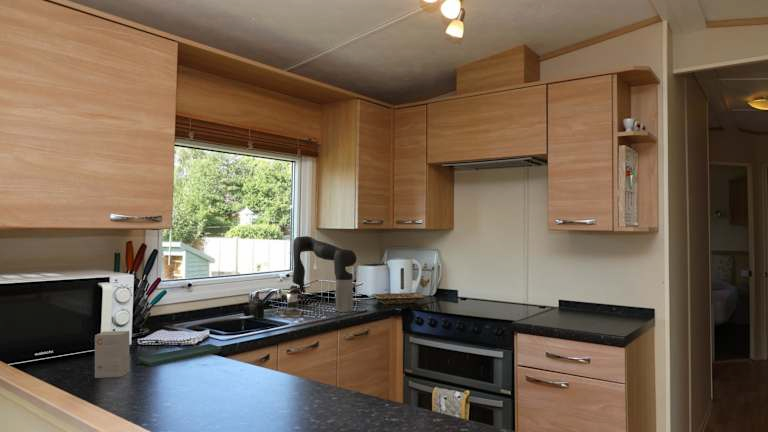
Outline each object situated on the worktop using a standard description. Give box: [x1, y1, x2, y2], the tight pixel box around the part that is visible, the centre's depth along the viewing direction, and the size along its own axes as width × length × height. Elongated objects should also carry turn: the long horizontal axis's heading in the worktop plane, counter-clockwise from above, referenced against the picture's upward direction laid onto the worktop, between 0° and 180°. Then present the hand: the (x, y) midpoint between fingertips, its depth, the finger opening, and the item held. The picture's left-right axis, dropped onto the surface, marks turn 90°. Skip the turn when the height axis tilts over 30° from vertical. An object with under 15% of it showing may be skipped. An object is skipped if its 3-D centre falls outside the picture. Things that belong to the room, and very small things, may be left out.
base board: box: [280, 311, 302, 319], centre depth 270 cm, size 10×10×1 cm
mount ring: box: [281, 309, 301, 316], centre depth 270 cm, size 9×9×2 cm
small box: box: [94, 330, 131, 379], centre depth 161 cm, size 8×6×13 cm
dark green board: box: [138, 343, 222, 367], centre depth 183 cm, size 26×9×2 cm, turn 137°
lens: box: [286, 292, 299, 310], centre depth 281 cm, size 6×6×10 cm
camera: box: [243, 295, 265, 320], centre depth 265 cm, size 18×9×10 cm, turn 25°
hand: (293, 298), depth 291 cm, fingers open, 8 cm apart
